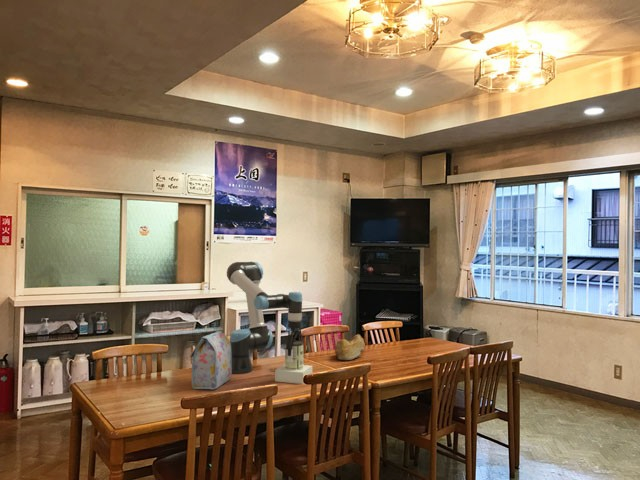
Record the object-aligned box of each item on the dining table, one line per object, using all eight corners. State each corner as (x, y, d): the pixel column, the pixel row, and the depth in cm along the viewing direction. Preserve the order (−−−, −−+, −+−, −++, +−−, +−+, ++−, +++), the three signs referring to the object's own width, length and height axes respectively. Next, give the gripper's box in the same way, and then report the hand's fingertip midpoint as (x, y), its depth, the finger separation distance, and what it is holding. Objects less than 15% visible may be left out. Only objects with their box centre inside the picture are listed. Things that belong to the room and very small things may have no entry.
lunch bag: (204, 377, 265) (205, 329, 266) (233, 379, 262) (234, 330, 263) (186, 389, 243) (187, 336, 243) (218, 391, 240) (219, 337, 241)
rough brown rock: (350, 354, 334) (349, 332, 335) (368, 356, 322) (367, 333, 323) (326, 360, 318) (325, 337, 319) (344, 362, 306) (343, 339, 307)
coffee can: (286, 365, 271) (286, 340, 272) (304, 366, 270) (304, 340, 271) (283, 369, 261) (283, 343, 261) (302, 370, 260) (302, 344, 260)
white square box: (274, 381, 260) (275, 369, 260) (285, 374, 276) (285, 363, 276) (302, 384, 256) (303, 372, 256) (312, 376, 271) (312, 365, 271)
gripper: (293, 324, 253) (292, 364, 253) (308, 317, 277) (307, 354, 277) (280, 323, 255) (279, 363, 255) (296, 317, 279) (295, 353, 279)
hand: (294, 359), depth 266 cm, fingers open, 13 cm apart
